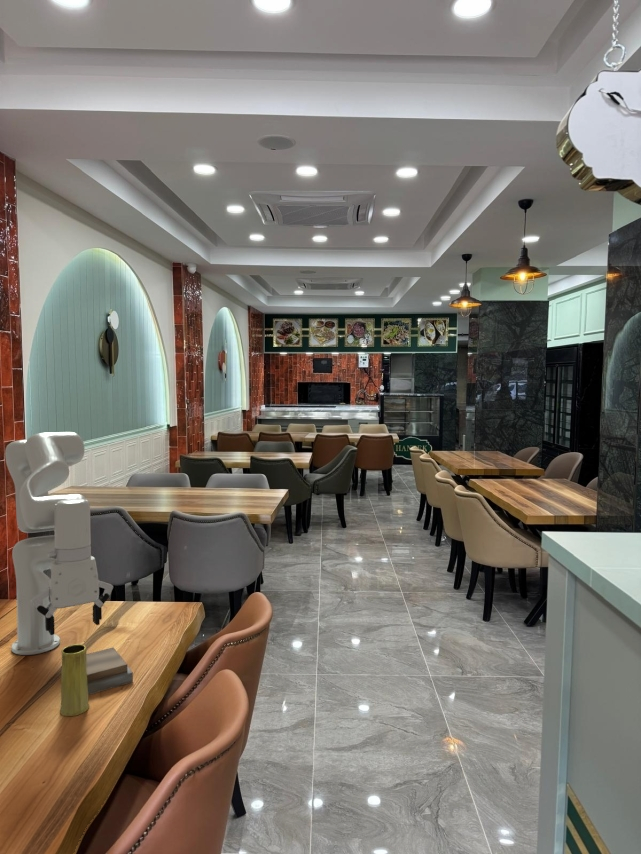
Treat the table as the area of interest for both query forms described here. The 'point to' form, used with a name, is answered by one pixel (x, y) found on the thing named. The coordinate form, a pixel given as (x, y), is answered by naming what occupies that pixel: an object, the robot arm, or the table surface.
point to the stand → (106, 670)
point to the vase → (74, 681)
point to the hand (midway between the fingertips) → (74, 628)
